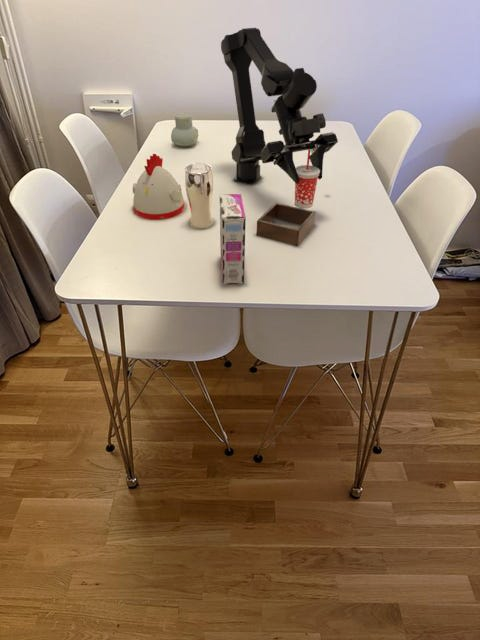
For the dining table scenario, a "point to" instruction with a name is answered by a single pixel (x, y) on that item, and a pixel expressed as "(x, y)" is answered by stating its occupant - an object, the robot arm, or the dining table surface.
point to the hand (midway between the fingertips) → (309, 181)
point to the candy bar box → (232, 238)
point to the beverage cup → (306, 185)
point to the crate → (282, 232)
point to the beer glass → (199, 194)
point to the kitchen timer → (157, 192)
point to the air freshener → (184, 130)
